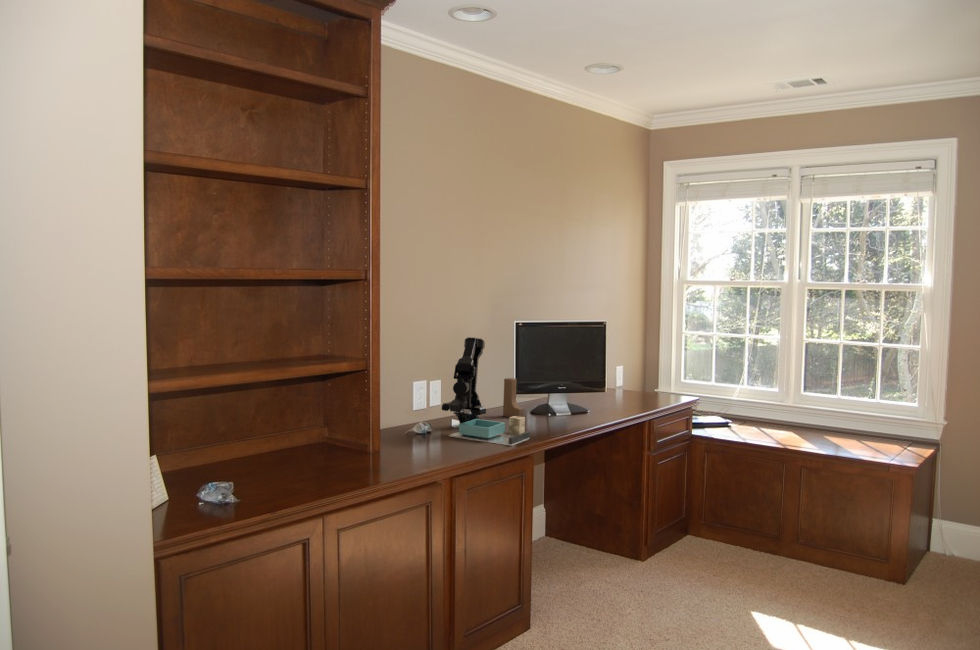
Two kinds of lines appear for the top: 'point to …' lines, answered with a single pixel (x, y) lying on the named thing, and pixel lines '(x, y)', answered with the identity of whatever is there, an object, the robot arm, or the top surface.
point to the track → (497, 438)
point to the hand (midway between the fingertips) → (463, 429)
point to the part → (516, 425)
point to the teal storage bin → (481, 428)
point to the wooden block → (511, 399)
